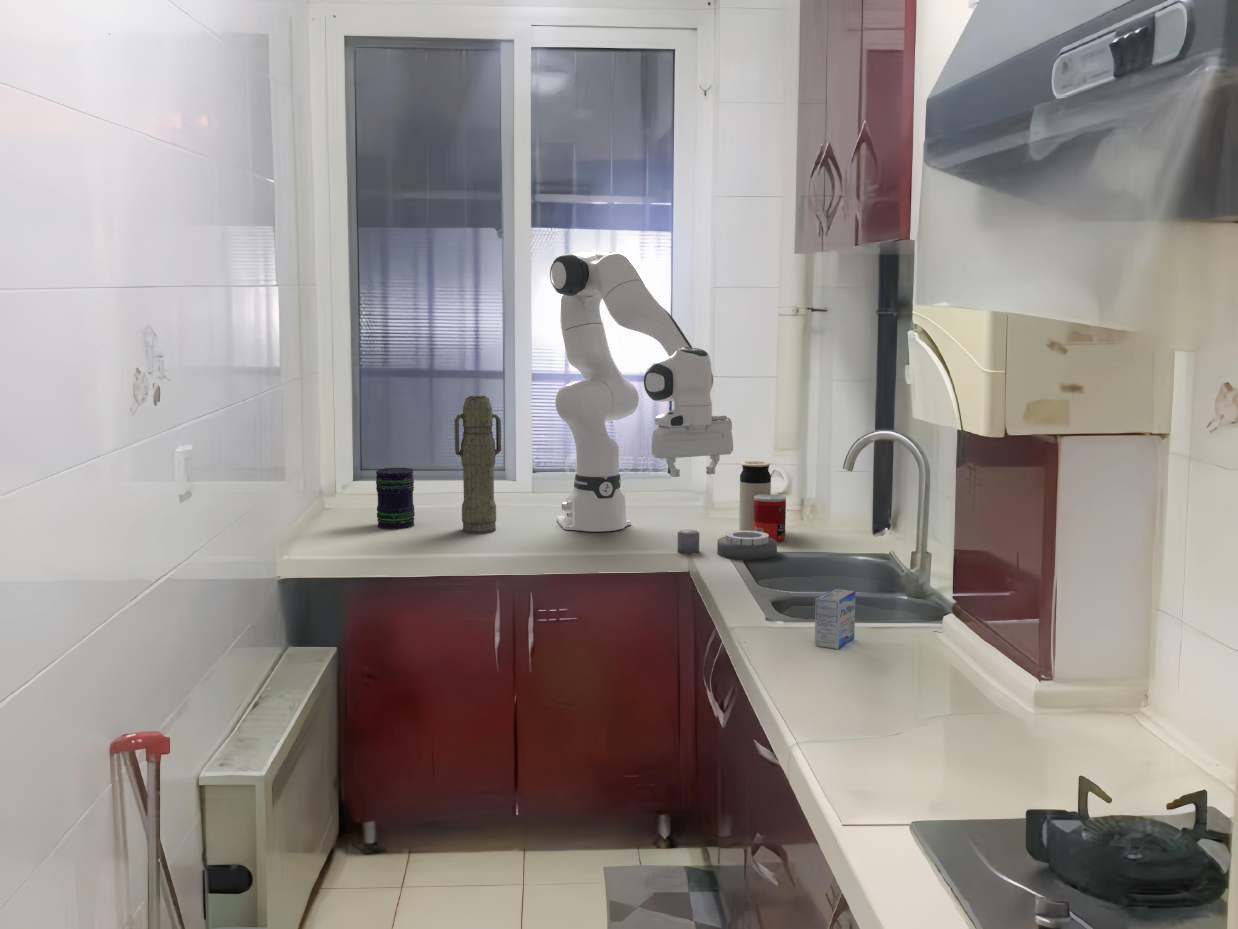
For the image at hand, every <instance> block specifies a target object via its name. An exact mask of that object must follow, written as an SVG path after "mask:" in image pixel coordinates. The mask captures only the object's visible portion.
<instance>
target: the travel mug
mask: <svg viewBox="0 0 1238 929" xmlns="http://www.w3.org/2000/svg"><path fill="white" fill-rule="evenodd" d="M740 464H741V467H742V471H741V473H740V474H739V505H738V506H739V508H738V509H739V511H738V512H739V515H738V516H739V517H738V518H739V519H738V520H739V521H738V531H753V523H754V496H756V495H761V494H771V492H772V491H771V490H772V489H771V486H772V484H771V483H772V475H771V473H770V471H769V469H770V465H771V462H769V461H761V460H748V461H747V460H746V461H741V463H740Z"/></svg>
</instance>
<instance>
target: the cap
mask: <svg viewBox="0 0 1238 929" xmlns="http://www.w3.org/2000/svg"><path fill="white" fill-rule="evenodd" d="M676 546H677V548H676V549H677V553H678V554H682V555H693V554H692V553H696V554H699V553H700V532H699V531H698V530H696V529H680V530H679V531H678V532H677V545H676Z"/></svg>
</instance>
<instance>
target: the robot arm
mask: <svg viewBox="0 0 1238 929" xmlns="http://www.w3.org/2000/svg"><path fill="white" fill-rule="evenodd" d="M549 278H550V284H551V286H552V288H553V289H554V290H555V292H556V293H558V294H560V298H559V304H558V305H559V307H558V308H559V320H560V321H559V322H560V328H561V335H562V338H563V339H562V340H563V343H564V348H565V353H566V358H567V361H568V362H569V364H570V365H571V366H572V367H574V368H575V369H576V370H577V371H578V372H580V374H581V375H582V377H583V379H584V380H577V381H574V382H571V383H568V384H565V385H563V386H561V387H560V388H559V389H558V391H557V392H556V396H555V402H554V403H555V410H556V411H557V414H558V416H559V417H560V418H561V420H562V421H564V422H565V423H566V424H567V425H568V427H569V429H570V432H571V433H572V436H573V440H574V444H575V450H576V452H575V454H576V474H575V476H574V481H573V482H574V483H573V487H574V489H573V490H572V491H571V493H570V494H569V495H568V496H567V498H565V501H563V502H561V511H563V512H564V514H563V515H558V516H557V517H556V521H557V522H558V524H559V525H560V526H561V527H562V529H564V530H567V531H580V532H581V531H582V532H612V531H618V530H622V529H624V528H625V527H629V526H631V525H632V521H631V520H629V519H627V509H626V508H627V507H626V497H625V494H624V493H623V491H621V489H620V488H621V483H622V482H621V481H622V480H621V474H620V473H619V471H620V467H619V466H620V465H619V464H620V463H619V462H620V456H619V455H620V454H619V453H620V452H619V451H620V447H619V444H618V443H617V441H615V440H614V438H612V437H610V435H609V433H608V431H607V427H606V422H610V421H618V420H621V419H624V418H627V417H629V416H631V415H633V414H634V413H635V412H636V411H637V408H638V406H639V402H640V401H639V400H640V399H639V398H640V397H639V393H638V392H639V391H638V390H637V387H636V386H635V385H634V384H633V383H632V382H630V381H629V380H628V379H627V378H626V377H625V376H624V375H623V374H622V372H621V371H620V370H619V367H618V366H617V365H616V362H615V361H614V359H613V357H612V353H611V352H610V348H609V343H608V340H607V339H608V338H607V335H606V330H605V327H604V326H605V325H604V322H603V318H602V313H601V309H600V308H601V306H600V305H601V303H602V301H603V302H604V305H605V307H606V309H607V311H608V313H609V315H610V316H611V317H612V319H613V320H614V322H616V324H617V325H619V326H621V327H622V328H625V329H627V330H632V331H635V332H638V333H641V334H644V335H647V336H649V337H651V338H653V339H655V340H656V342H658V343H659V344H660V345H661V347H662V348H663V349H664V351H665V352H666V354H667V355H668V357H667V358H665V359H662V360H660V361H658V362H657V361H656V362H655V363H654V362H653V363H651V364H650V365H649V366H648V367H647V369H646V370H645V373H644V375H643V386H644V387H643V388H644V391H645V393H646V394H647V395H648V397H649V399H651V400H653V401H656V402H662V403H663V402H674V405H673V409H671V410H669V411H666V412H664V413H662V414H658V415H657V416H655V418H654V424H655V425H656V427H655V428H654V430H653V433H652V439H651V454H652V456H653V457H654V458H656V459H661V460H662V459H666V462H665V463H666V464H667V465H668V468H669V470H670V476H671V478H679V477H680V475H681V474H680V473H681V471H680V469H679V468H677V467H676V464H675V463H676V462H677V460H676V459H678V458H679V459H680V458H694V457H708V456H709V458H710V459H711V461H710V464H709V465H708V466H706V467H705V468H706V472H705V473H706V474H707V475H710V476H711V475H715V474H716V467H717V465H718V463H719V461H720V456H723V455H731V454H732V453H733V451H734V439H733V433H732V430H733V422H732V420H731V419H730V418H729V417H727V416H726V415H712V414H713V413H712V412H713V411H712V410H713V402H712V400H711V390H712V388H713V384H714V376H713V372H712V363H711V358H710V355H709V353H708V352H707V351H706V350H704V349H701V348H697V347H693V346H692V344H691V343H690V342H689V340H688V339H687V337H686V335H685V334H684V332H683V331H682V329H681V327H680V326H679V325H678V323H677V321H676V320H675V319H674V317H673V316H672V315H671V314H670V313H669V312H668V311H667V310H666V309H665V308H664V307H663V306H662V305H660V303H659V302H658V301H657V300H656V299H655V298H654V296H653V295H652V294H651V291H650V290H649V288H648V287H647V285H646V283H645V281H644V280H643V278H642V276H641V274H640V272H639V271H638V270H637V268H636V267H635V265H634V264H633V262H632V261H631V260H630V259H629V257H628V256H627V255H625V254H623V253H621V252H611V251H610V252H609V251H608V252H603V251H587V252H579V253H573V254H572V253H566V254H565V253H564V254H562V255H560V256H557V257H556V258H555V259H554V260H553V262H552V263H551V266H550V270H549Z"/></svg>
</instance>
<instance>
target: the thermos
mask: <svg viewBox="0 0 1238 929" xmlns="http://www.w3.org/2000/svg"><path fill="white" fill-rule="evenodd" d="M464 399H465V400H464V403H463V406H462V413H460V414H457V416H456V417H455V419H454V451H455V455H456V456H459V457H460V459H461V460H460V461H461V462H460V463H461V465H462V469H463V470H462V475H463V476H462V478H463V502H462V504H461V522H462V532H464V533H466V534H467V533H468V534H490V533H494V532H496V530H497V528H496V522H497V505H496V502H495V501H496V500H495V485H494V484H495V483H494V482H495V481H494V480H495V476H494V473H495V472H494V468H495V464H496V456H497V455H499V454H500V453H501V451H502V425H501V424H502V419H501V418H500V417H499V416H498V414H496V413H495V414H494V413H493V406H492V402H491V399H490V397H488V396H487V395H468V397H465V398H464ZM493 418H494V419H495V430H496V431H495V434H496V435H495V436H496V438H495V437H494V436H493V435H494V434H493V433H494V432H493ZM461 419H462V427H463V432H462V435H463V436H462V440H461V443H460V420H461ZM494 438H495V439H494ZM495 440H496V441H495Z"/></svg>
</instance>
